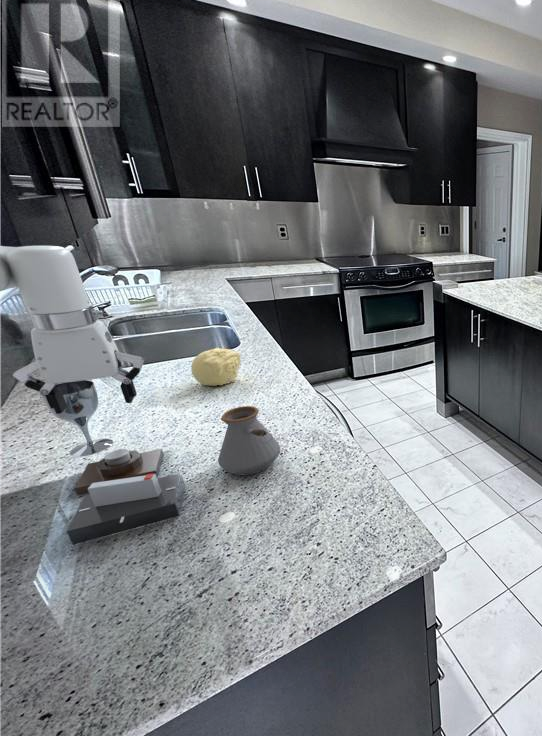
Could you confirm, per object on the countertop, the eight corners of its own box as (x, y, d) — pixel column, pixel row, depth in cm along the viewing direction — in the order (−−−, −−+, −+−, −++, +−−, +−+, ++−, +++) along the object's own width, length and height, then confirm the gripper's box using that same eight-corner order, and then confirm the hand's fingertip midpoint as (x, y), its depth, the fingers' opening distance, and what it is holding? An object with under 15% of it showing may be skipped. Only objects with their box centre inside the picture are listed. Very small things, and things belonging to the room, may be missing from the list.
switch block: (77, 495, 77) (70, 480, 76) (90, 470, 84) (84, 456, 83) (157, 477, 83) (152, 463, 82) (164, 454, 90) (159, 441, 89)
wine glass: (57, 453, 89) (30, 392, 83) (101, 435, 96) (78, 378, 90) (82, 460, 87) (55, 399, 81) (124, 442, 94) (102, 383, 88)
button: (105, 468, 80) (102, 461, 80) (109, 459, 83) (106, 451, 83) (129, 463, 82) (126, 456, 82) (132, 454, 85) (130, 447, 84)
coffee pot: (214, 463, 88) (197, 402, 83) (271, 443, 96) (259, 387, 91) (246, 513, 75) (228, 445, 70) (309, 486, 83) (298, 422, 78)
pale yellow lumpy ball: (226, 390, 120) (218, 357, 116) (186, 388, 120) (176, 354, 116) (250, 375, 131) (243, 344, 127) (213, 373, 131) (205, 342, 127)
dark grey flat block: (69, 552, 66) (62, 537, 64) (92, 502, 76) (87, 489, 75) (178, 521, 73) (173, 508, 72) (186, 480, 83) (182, 467, 82)
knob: (95, 507, 71) (86, 487, 69) (100, 501, 72) (91, 481, 71) (158, 496, 74) (151, 478, 72) (161, 491, 75) (155, 472, 74)
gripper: (133, 310, 78) (158, 389, 85) (2, 318, 70) (40, 406, 76) (124, 319, 72) (152, 404, 79) (-21, 330, 64) (23, 424, 70)
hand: (97, 405), depth 78 cm, fingers open, 9 cm apart
